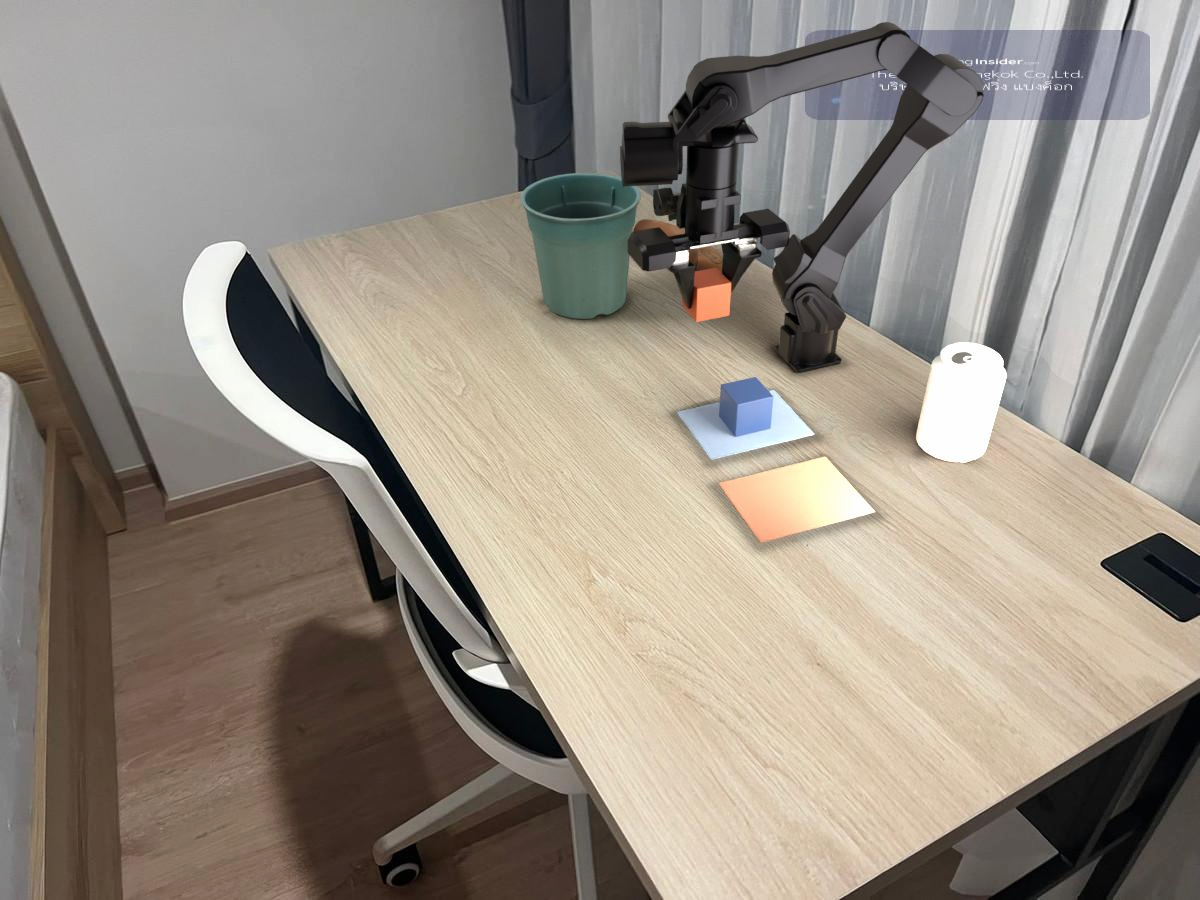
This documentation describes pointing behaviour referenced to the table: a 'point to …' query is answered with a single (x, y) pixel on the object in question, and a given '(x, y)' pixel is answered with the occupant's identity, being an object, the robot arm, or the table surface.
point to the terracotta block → (710, 295)
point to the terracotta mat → (794, 499)
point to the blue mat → (724, 443)
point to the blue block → (745, 406)
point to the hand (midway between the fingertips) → (706, 303)
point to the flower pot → (582, 241)
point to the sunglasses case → (698, 257)
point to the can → (961, 402)
